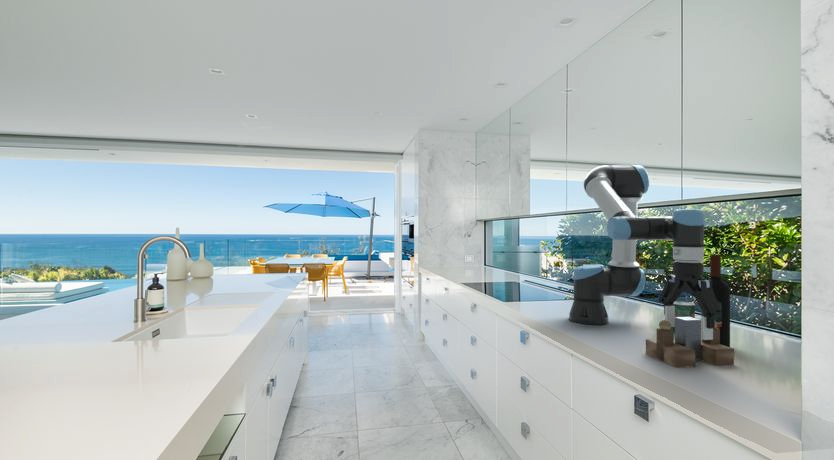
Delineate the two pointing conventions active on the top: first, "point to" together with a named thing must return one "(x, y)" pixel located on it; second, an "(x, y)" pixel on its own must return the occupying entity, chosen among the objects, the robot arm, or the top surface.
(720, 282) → the wine bottle
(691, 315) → the canned tomato
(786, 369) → the top surface
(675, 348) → the pair of knobbed blocks
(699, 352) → the grey brushed pillar
